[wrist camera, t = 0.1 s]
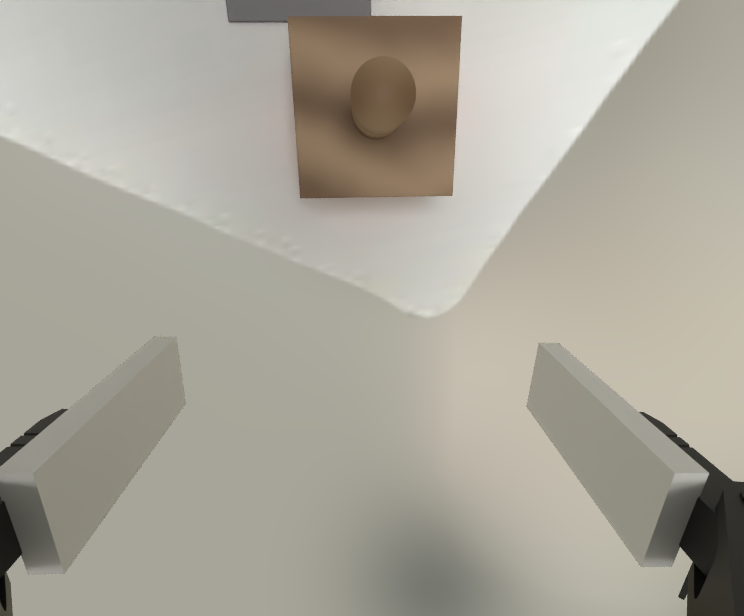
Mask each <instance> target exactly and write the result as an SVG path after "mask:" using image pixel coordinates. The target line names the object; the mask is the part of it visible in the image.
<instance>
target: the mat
mask: <svg viewBox="0 0 744 616" xmlns="http://www.w3.org/2000/svg"><path fill="white" fill-rule="evenodd" d="M226 5H227V14H228V21H229V22H288V16H371V0H226Z"/></svg>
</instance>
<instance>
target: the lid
mask: <svg viewBox="0 0 744 616" xmlns="http://www.w3.org/2000/svg"><path fill="white" fill-rule="evenodd" d="M461 23H462V16H288V31H289V45H290V59H291V73H292V87H293V101H294V115H295V129H296V143H297V157H298V171H299V185H300V198H345V197H406V196H452V193H453V174H454V155H455V137H456V118H457V99H458V80H459V61H460V42H461Z"/></svg>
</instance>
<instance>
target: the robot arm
mask: <svg viewBox="0 0 744 616" xmlns="http://www.w3.org/2000/svg"><path fill="white" fill-rule="evenodd" d="M185 404H186V402H185V394H184V387H183V380H182V373H181V366H180V359H179V352H178V345H177V338H176V337H153V338H152V339H151V340H149V341H148V342H147V343H146V344H145V345H144V346H142V347H141V348H140V349H139V350H138V351H136V352H135V353H134V354H133V355H132V356H131V357H129V358H128V359H127V360H126V361H125V362H123V364H121V365H120V366H119V367H118V368H116V369H115V370H114V371H113V372H112V373H110V374H109V375H108V376H107V377H106V378H105V379H103V380H102V381H101V382H100V383H99V384H97V385H96V386H95V387H94V388H93V389H92V390H90V391H89V392H88V393H87V394H86V395H84V396H83V397H82V398H81V399H80V400H78V401H77V402H76V403H75V404H74V405H73V406H71V407H70V408H69V409H61V410H59V411H57V412H55V413H53V414H51V415H49V416H48V417H46V418H44V419H42V420H40V421H39V422H37V423H36V424H35V425H34V426H32V427H31V428H30V429H29V430H28V431H26V432H25V433H24V436H20V437H19V438H18V439H16V440H15V441H14V442H13V443H11V446H10V447H6V448H5V449H4V450H3V451H1V452H0V616H13V613H12V598H11V583H10V581H9V578H8V575H7V573H6V572H7V570H8V569H9V568H10V567H11V566H12V564H13V563H14V562H15V561H16V560H17V558H19V556H20V555H21V556H22V559H23V562H24V564H25V567H26V570H27V573H28V574H29V575H30V574H31V575H34V574H65V573H66V571H67V570H68V568H69V567H70V566H71V564H72V563H73V561H74V560H75V559H76V557H77V556H78V554H79V553H80V551H81V550H82V549H83V547H84V546H85V544H86V543H87V542H88V540H89V539H90V537H91V536H92V535H93V533H94V532H95V530H96V529H97V528H98V526H99V525H100V524H101V522H102V521H103V519H104V518H105V516H106V515H107V514H108V512H109V511H110V509H111V508H112V507H113V505H114V504H115V502H116V501H117V500H118V498H119V497H120V495H121V494H122V493H123V491H124V490H125V488H126V487H127V486H128V484H129V483H130V481H131V480H132V478H133V477H134V476H135V474H136V473H137V472H138V470H139V469H140V467H141V466H142V464H143V463H144V462H145V460H146V459H147V458H148V456H149V455H150V453H151V452H152V450H153V449H154V448H155V446H156V445H157V444H158V442H159V441H160V439H161V438H162V437H163V435H164V434H165V432H166V431H167V430H168V428H169V426H170V425H171V424H172V423H173V421H174V420H175V418H176V417H177V416H178V414H179V413H180V411H181V410H182V409H183V407H184V406H185ZM527 408H528V409H529V411H530V412H531V414H532V415H533V416H534V418H535V419H536V421H537V422H538V423H539V425H540V426H541V428H542V429H543V430H544V432H545V433H546V435H547V436H548V437H549V439H550V440H551V442H552V443H553V444H554V446H555V447H556V448H557V450H558V451H559V452H560V454H561V455H562V457H563V458H564V460H565V461H566V462H567V464H568V465H569V467H570V468H571V469H572V471H573V472H574V474H575V475H576V477H577V478H578V479H579V481H580V482H581V484H582V485H583V486H584V488H585V489H586V491H587V492H588V493H589V495H590V496H591V498H592V499H593V500H594V502H595V503H596V505H597V506H598V507H599V509H600V510H601V512H602V513H603V514H604V516H605V517H606V518H607V520H608V521H609V523H610V524H611V526H612V527H613V528H614V530H615V531H616V533H617V534H618V535H619V537H620V538H621V540H622V541H623V542H624V544H625V545H626V547H627V548H628V549H629V551H630V552H631V554H632V555H633V556H634V558H635V559H636V561H637V562H638V563H639V565H640V566H641V567H665V566H666V567H670V566H672V565H673V563H674V560H675V557H676V555H677V553H678V550H679V548H680V547H681V548H682V549H683V551H684V552H685V553H686V554H687V555H688V556H689V557H690V559H691V560H692V561H693V563H692V565H691V567H690V570H689V572H688V575H687V577H686V579H685V582H684V584H683V586H682V589H681V591H680V594H679V596H678V597H679V598H681V599H683V600H684V599H685V597H686V595H687V616H744V482H735V481H732V480H731V479H730V478H728V477H727V476H726V475H725V474H724V473H722V472H721V471H720V470H719V469H718V468H716V467H715V466H714V465H713V464H711V463H710V462H709V461H708V460H707V459H706V458H704V457H703V456H702V455H701V454H700V453H698V452H697V451H696V450H695V449H693V448H690V447H689V444H688V443H686V442H685V441H684V440H682V439H681V438H680V437H677V434H676V433H674V432H673V431H672V430H671V429H670V428H668V427H667V426H666V425H665V424H663V423H662V422H660V421H658V420H657V419H655V418H653V417H651V416H649V415H648V414H646V413H644V412H638V411H637V410H636V409H635V408H633V407H632V406H631V405H630V404H629V403H628V402H627V401H625V400H624V399H623V398H622V397H621V396H619V395H618V394H617V393H616V392H615V391H614V390H612V389H611V388H610V387H609V386H608V385H607V384H606V383H605V382H603V381H602V380H601V379H600V378H599V377H598V376H596V375H595V374H594V373H593V372H592V371H590V369H588V368H587V367H586V366H585V365H584V364H583V363H581V362H580V361H579V360H578V359H577V358H576V357H574V356H573V355H572V354H571V353H570V352H569V351H568V350H566V349H565V348H564V347H563V346H562V345H561V344H560V343H539V345H538V350H537V355H536V360H535V366H534V371H533V376H532V381H531V386H530V391H529V397H528V402H527Z"/></svg>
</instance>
